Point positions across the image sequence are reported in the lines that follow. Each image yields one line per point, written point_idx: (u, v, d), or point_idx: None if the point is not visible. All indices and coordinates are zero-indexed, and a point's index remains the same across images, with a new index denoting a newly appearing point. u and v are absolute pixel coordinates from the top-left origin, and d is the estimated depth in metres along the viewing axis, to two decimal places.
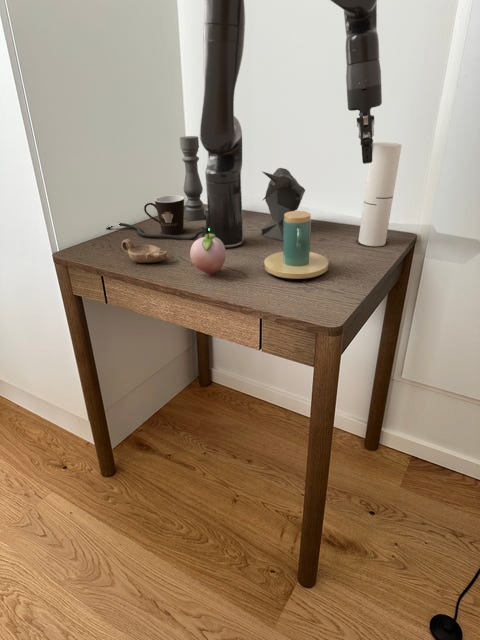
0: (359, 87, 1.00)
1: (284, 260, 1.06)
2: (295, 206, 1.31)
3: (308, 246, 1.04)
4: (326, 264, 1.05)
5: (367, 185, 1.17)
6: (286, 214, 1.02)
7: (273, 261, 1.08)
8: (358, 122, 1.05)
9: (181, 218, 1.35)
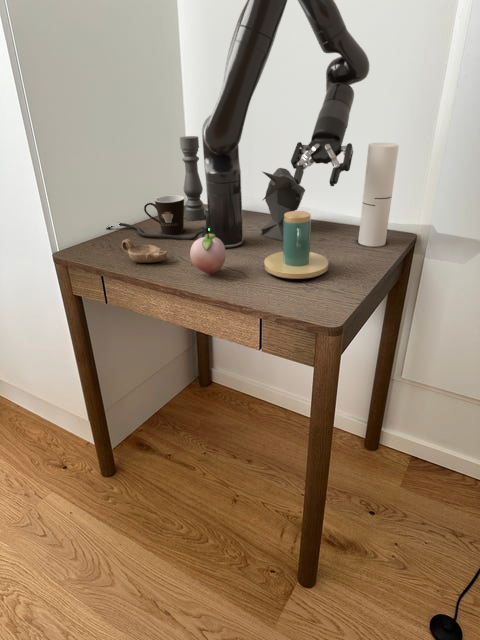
0: (344, 123, 1.10)
1: (284, 260, 1.06)
2: (295, 206, 1.31)
3: (308, 246, 1.04)
4: (326, 264, 1.05)
5: (365, 186, 1.17)
6: (286, 214, 1.02)
7: (273, 261, 1.08)
8: (331, 147, 1.08)
9: (181, 218, 1.35)
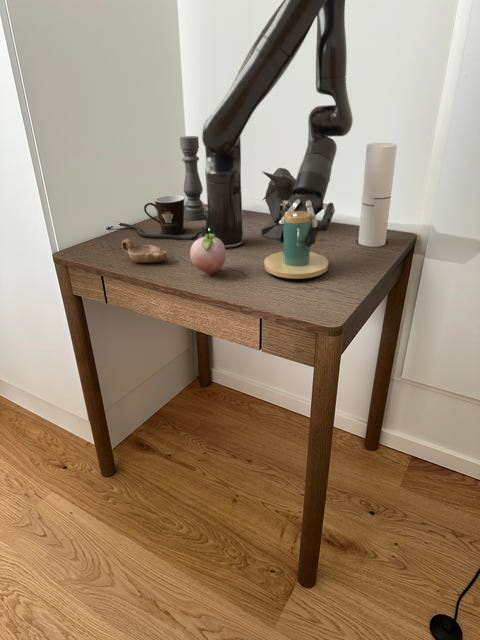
0: (326, 178, 1.05)
1: (284, 260, 1.06)
2: None
3: (308, 246, 1.04)
4: (326, 264, 1.05)
5: (364, 186, 1.17)
6: (286, 214, 1.02)
7: (273, 261, 1.08)
8: (312, 204, 1.04)
9: (181, 218, 1.35)
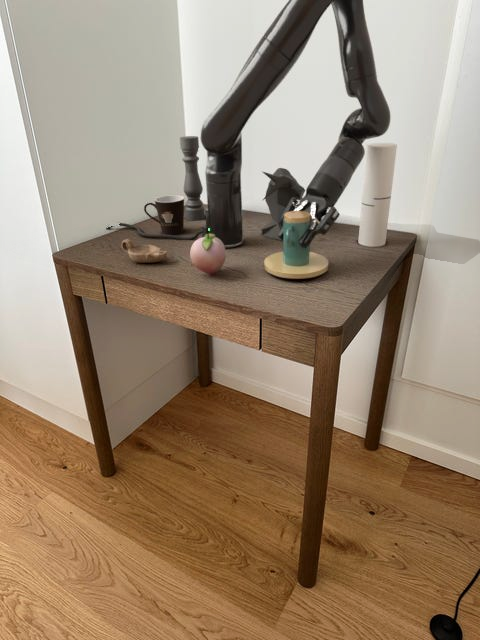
0: (340, 182, 1.02)
1: (283, 258, 1.07)
2: None
3: (304, 248, 1.03)
4: (321, 268, 1.03)
5: (364, 186, 1.17)
6: (287, 213, 1.03)
7: (275, 258, 1.10)
8: (316, 206, 1.02)
9: (181, 218, 1.35)
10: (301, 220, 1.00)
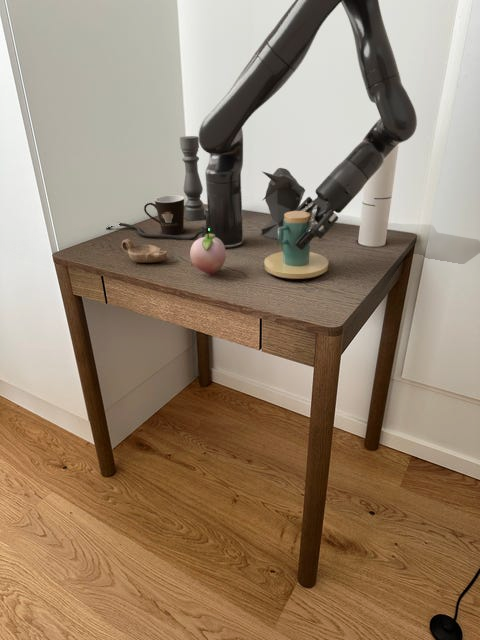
0: (345, 187, 0.98)
1: None
2: (295, 206, 1.31)
3: (299, 249, 1.03)
4: (310, 272, 1.01)
5: (365, 186, 1.17)
6: (289, 212, 1.04)
7: (281, 255, 1.11)
8: (317, 209, 1.00)
9: (181, 218, 1.35)
10: (295, 220, 1.00)
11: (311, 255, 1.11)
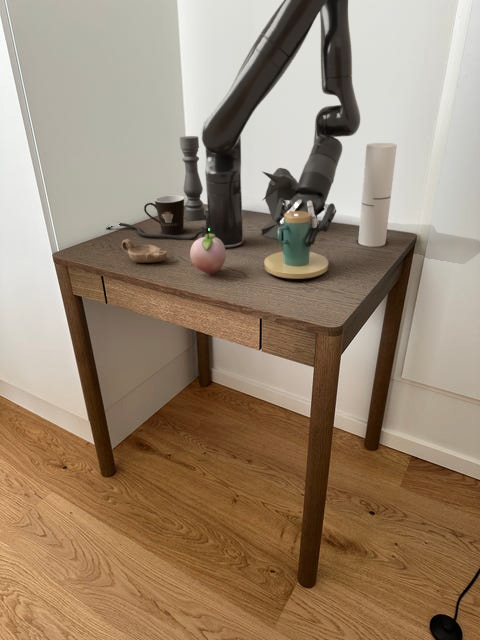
0: (329, 179, 1.04)
1: None
2: None
3: (299, 249, 1.03)
4: (310, 272, 1.01)
5: (364, 186, 1.17)
6: (289, 212, 1.04)
7: (281, 255, 1.11)
8: (313, 204, 1.03)
9: (181, 218, 1.35)
10: (295, 220, 1.00)
11: (311, 255, 1.11)
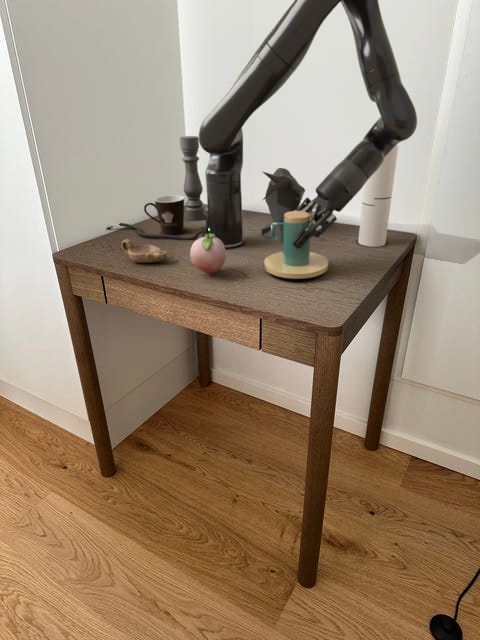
0: (345, 186, 0.98)
1: None
2: (295, 206, 1.31)
3: (289, 248, 1.03)
4: (286, 272, 1.02)
5: (365, 186, 1.17)
6: (297, 211, 1.04)
7: None
8: (317, 208, 1.00)
9: (181, 218, 1.35)
10: (287, 219, 1.01)
11: (319, 260, 1.07)
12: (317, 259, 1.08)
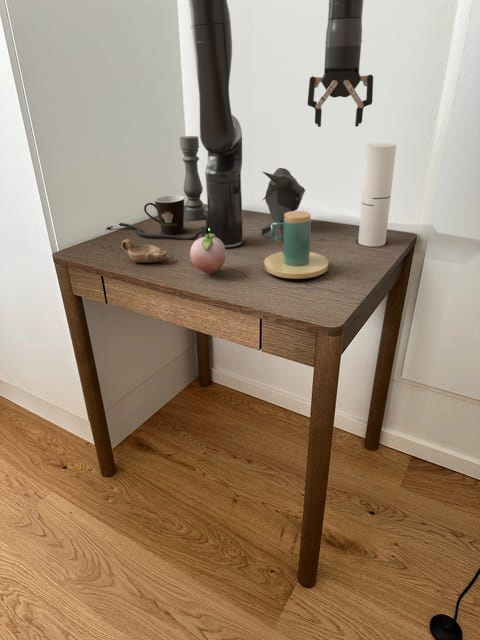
0: (360, 44, 0.97)
1: None
2: (295, 206, 1.31)
3: (289, 248, 1.03)
4: (286, 272, 1.02)
5: (364, 186, 1.17)
6: (297, 211, 1.04)
7: None
8: (350, 83, 1.00)
9: (181, 218, 1.35)
10: (287, 219, 1.01)
11: (319, 260, 1.07)
12: (317, 259, 1.08)
